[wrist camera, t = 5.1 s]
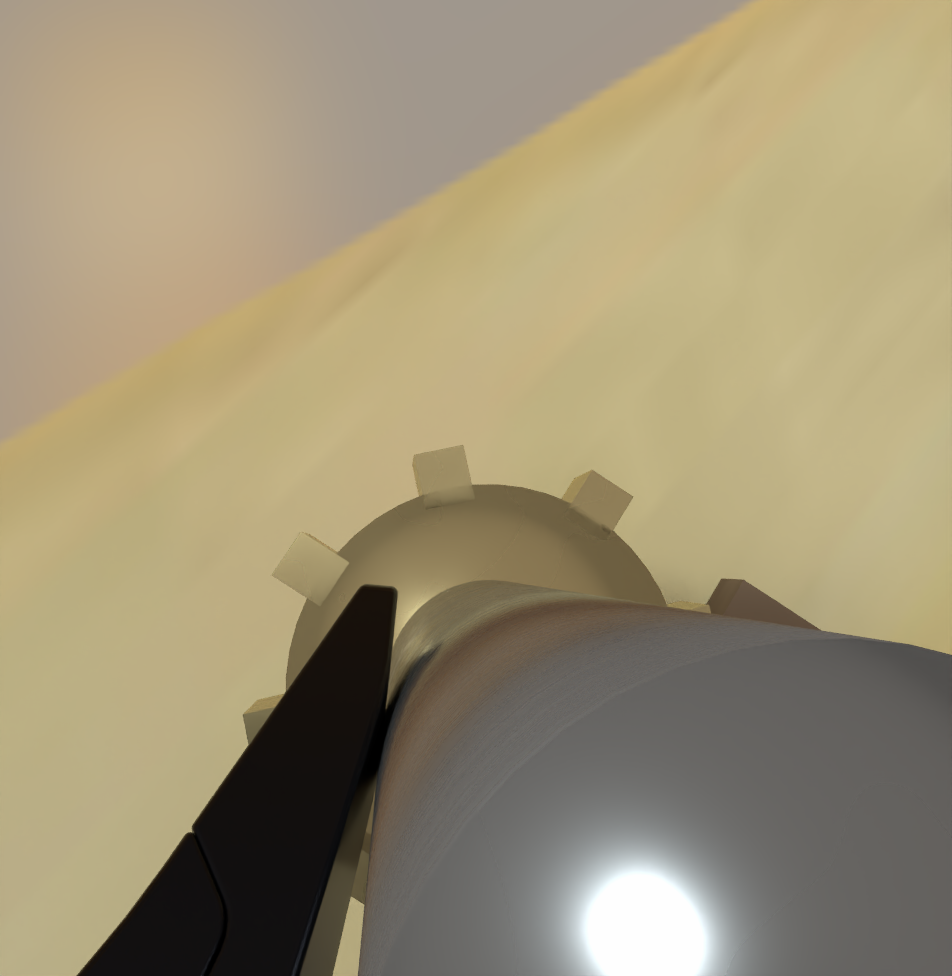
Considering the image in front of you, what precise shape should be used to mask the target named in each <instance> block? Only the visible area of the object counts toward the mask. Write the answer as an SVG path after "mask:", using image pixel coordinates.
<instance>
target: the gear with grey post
mask: <svg viewBox="0 0 952 976" xmlns="http://www.w3.org/2000/svg"><path fill="white" fill-rule="evenodd" d="M412 466H413V470H414V475H415V480H416V484H417V489H418V494H419V497H417V498H415V499H412V500H410V501H408V502H405V503H403V504H401V505H398V506H397V507H395V508H393V509H392V510H390V511H388V512H386V513H385V514H383V515H381V516H380V517H378V518H376V519H375V520H374V521H372V522H371V523H370V524H369V525H367V526H366V527H365V528H363V529H362V530H361V531H360V532H358V533H357V534H356V535H355V536H354V537H353V538H352V539H351V540H350V541H349V542H348V543H347V544H346V545H345V546H344V547H343V548H342V549H341V550H340V551H339V552H336V551H335V550H333V549H332V548H330V547H329V546H327V545H325V544H324V543H322V542H321V541H319V540H318V539H316V538H315V537H313V536H311V535H310V534H307V533H304V532H300V534H299V535H298V537H297V538H296V540H295V541H294V543H293V544H292V545H291V547H290V548H289V550H288V551H287V553H286V554H285V556H284V557H283V559H282V560H281V562H280V563H279V565H278V566H277V568H276V569H275V571H274V572H273V574H272V576H273V577H275V578H277V579H278V580H280V581H281V582H283V583H284V584H286V585H287V586H289V587H291V588H292V589H294V590H295V591H297V592H298V593H300V594H302V595H303V596H305V597H306V598H307V600H306V602H305V604H304V607H303V609H302V612H301V614H300V617H299V619H298V621H297V624H296V628H295V632H294V635H293V639H292V643H291V647H290V651H289V658H288V666H287V673H286V691H287V689H288V688H289V687H290V685H291V684H292V682H293V681H294V679H295V678H296V677H297V675H298V674H299V672H300V671H301V669H302V668H303V667H304V665H305V664H306V662H307V661H308V659H309V658H310V657H311V655H312V654H313V652H314V651H315V649H316V648H317V647H318V645H319V644H320V642H321V641H322V639H323V638H324V637H325V635H326V634H327V632H328V631H329V629H330V628H331V627H332V625H333V624H334V622H335V621H336V619H337V618H338V617H339V615H340V614H341V612H342V611H343V609H344V608H345V607H346V605H347V604H348V602H349V601H350V599H351V598H352V597H353V595H354V594H355V592H356V591H357V590H358V588H359V587H360V586H362V585H364V584H374V585H384V586H393V587H395V588H396V589H397V591H398V598H397V608H396V618H395V628H394V638H393V648H392V658H391V668H390V676H389V685H388V694H387V703H386V711H385V720H384V727H383V733H382V738H381V743H380V751H379V759H378V769H377V779H376V788H375V793H374V798H373V802H372V806H371V811H370V815H369V819H368V824H367V828H366V832H365V837H364V841H363V845H362V850H361V854H360V858H359V863H358V867H357V871H356V876H355V880H354V884H353V888H352V893H351V896H352V897H353V898H355V899H356V900H358V901H360V902H361V903H363V904H364V905H365V906H364V917H363V928H362V938H361V949H360V959H359V970H358V976H952V655H950V654H946V653H942V652H938V651H934V650H930V649H926V648H922V647H918V646H914V645H909V644H903V643H896V642H890V641H884V640H877V639H871V638H865V637H858V636H852V635H845V634H839V633H833V632H826V631H820V630H814V629H807V628H801V627H794V626H788V625H782V624H775V623H769V622H763V621H756V620H750V619H743V618H737V617H731V616H724V615H718V614H712V613H711V611H710V606H709V605H706V604H698V603H691V602H683V601H679V602H675V603H671V604H666V602H665V600H664V597H663V595H662V593H661V591H660V589H659V587H658V586H657V584H656V582H655V581H654V579H653V577H652V576H651V574H650V572H649V571H648V569H647V568H646V566H645V565H644V564H643V563H642V561H641V560H640V559H639V558H638V556H637V555H636V554H635V552H634V551H633V550H632V549H631V548H630V547H629V546H628V545H627V544H626V543H625V542H624V541H623V540H622V539H621V538H620V537H619V536H618V535H617V534H616V533H615V532H614V531H613V529H614V528H615V526H616V525H617V523H618V521H619V520H620V518H621V516H622V515H623V513H624V511H625V510H626V508H627V507H628V505H629V503H630V502H631V500H632V498H633V496H631V495H630V494H628V493H627V492H625V491H624V490H622V489H621V488H619V487H618V486H616V485H615V484H613V483H612V482H610V481H608V480H607V479H605V478H604V477H602V476H601V475H599V474H598V473H596V472H595V471H593V470H591V471H589V472H587V473H585V474H583V475H580V476H578V477H576V478H574V480H573V481H572V483H571V485H570V486H569V488H568V489H567V491H566V493H565V494H564V496H563V497H562V499H559V498H556V497H554V496H552V495H549V494H546V493H542V492H538V491H534V490H530V489H527V488H522V487H514V486H506V485H472V483H471V478H470V473H469V469H468V464H467V460H466V455H465V451H464V446H463V445H460V446H455V447H450V448H446V449H441V450H436V451H431V452H426V453H421V454H416V455H414V458H413V464H412ZM283 695H284V694H281V695H277V696H273V697H268V698H264V699H260V700H257V701H256V702H255V703H254V704H253V705H252V706H251V707H250V708H249V709H248V710H247V711H246V712H245V713H244V714H243V718H244V723H245V728H246V734H247V739H248V744H250V742H251V741H252V739H253V738H254V736H255V735H256V734H257V732H258V731H259V729H260V728H261V726H262V725H263V724H264V722H265V721H266V719H267V718H268V716H269V715H270V714H271V712H272V711H273V709H274V708H275V707H276V705H277V704H278V702H279V701H280V699H281V698H282V697H283Z"/></svg>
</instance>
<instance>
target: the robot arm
mask: <svg viewBox="0 0 952 976" xmlns="http://www.w3.org/2000/svg"><path fill="white" fill-rule="evenodd" d="M397 598H398V591H397V589H396V588H395V587H393V586H384V585H374V584H364V585H362V586H360V587H359V588H358V590H357V591H356V592H355V594H354V595H353V597H352V598H351V599H350V601H349V602H348V604H347V605H346V607H345V608H344V609H343V611H342V612H341V614H340V615H339V617H338V618H337V619H336V621H335V622H334V624H333V625H332V627H331V628H330V629H329V631H328V632H327V634H326V635H325V637H324V638H323V639H322V641H321V642H320V644H319V645H318V647H317V648H316V649H315V651H314V652H313V654H312V655H311V657H310V658H309V659H308V661H307V662H306V664H305V665H304V667H303V668H302V669H301V671H300V672H299V674H298V675H297V677H296V678H295V679H294V681H293V682H292V684H291V685H290V687H289V688H288V689H287V691H286V692H285V694H284V695H283V697H282V698H281V699H280V701H279V702H278V704H277V705H276V707H275V708H274V709H273V711H272V712H271V714H270V715H269V716H268V718H267V719H266V721H265V722H264V724H263V725H262V726H261V728H260V729H259V731H258V732H257V734H256V735H255V736H254V738H253V739H252V741H251V742H250V744H249V745H248V746H247V748H246V749H245V751H244V752H243V754H242V755H241V756H240V758H239V759H238V761H237V762H236V764H235V765H234V766H233V768H232V769H231V771H230V772H229V774H228V775H227V776H226V778H225V779H224V781H223V782H222V784H221V785H220V786H219V788H218V789H217V791H216V792H215V794H214V795H213V796H212V798H211V799H210V801H209V802H208V804H207V805H206V806H205V808H204V809H203V811H202V812H201V814H200V815H199V816H198V818H197V819H196V821H195V822H194V824H193V825H192V833H191V832H189V833H187V834H185V836H184V837H183V839H182V840H181V841H180V843H179V844H178V846H177V847H176V849H175V850H174V851H173V853H172V854H171V856H170V857H169V859H168V860H167V861H166V863H165V864H164V866H163V867H162V868H161V870H160V871H159V872H158V874H157V875H156V876H155V878H154V879H153V881H152V882H151V883H150V885H149V886H148V887H147V889H146V890H145V891H144V893H143V894H142V895H141V897H140V898H139V899H138V901H137V902H136V903H135V905H134V906H133V907H132V909H131V910H130V911H129V913H128V914H127V915H126V917H125V918H124V919H123V920H122V922H121V923H120V924H119V925H118V926H117V928H116V929H115V930H114V931H113V932H112V934H111V935H110V936H109V937H108V939H107V940H106V941H105V942H104V943H103V945H102V946H101V947H100V948H99V949H98V951H97V952H96V953H95V954H94V955H93V957H92V958H91V959H90V960H89V961H88V963H87V964H86V965H85V966H84V967H83V969H82V970H81V971H80V972H79V973H78V975H77V976H332V975H333V970H334V966H335V962H336V957H337V953H338V949H339V945H340V940H341V936H342V932H343V927H344V923H345V919H346V914H347V910H348V906H349V901H350V897H351V893H352V888H353V884H354V880H355V876H356V871H357V867H358V863H359V858H360V854H361V850H362V845H363V841H364V837H365V832H366V828H367V824H368V819H369V815H370V811H371V806H372V802H373V798H374V793H375V788H376V779H377V769H378V759H379V751H380V743H381V738H382V733H383V727H384V720H385V711H386V703H387V694H388V685H389V676H390V668H391V658H392V648H393V638H394V628H395V618H396V608H397Z"/></svg>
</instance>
